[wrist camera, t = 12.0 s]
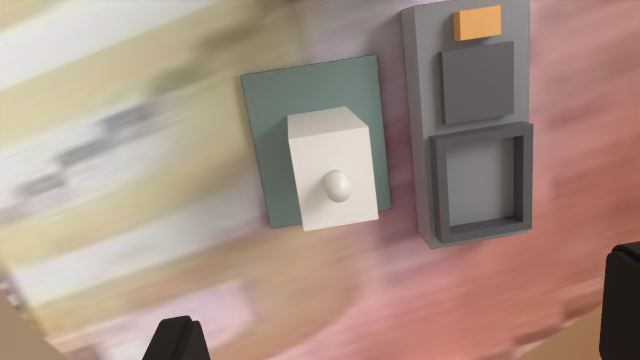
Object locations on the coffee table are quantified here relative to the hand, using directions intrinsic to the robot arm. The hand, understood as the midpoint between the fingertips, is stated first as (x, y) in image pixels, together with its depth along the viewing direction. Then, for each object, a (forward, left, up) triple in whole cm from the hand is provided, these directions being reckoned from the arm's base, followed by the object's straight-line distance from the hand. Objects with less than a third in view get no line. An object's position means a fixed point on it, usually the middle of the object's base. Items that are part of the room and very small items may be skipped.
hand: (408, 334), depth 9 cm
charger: (0, 0, -20) cm, 20 cm away
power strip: (-10, 0, -21) cm, 23 cm away
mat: (0, 0, -21) cm, 21 cm away
